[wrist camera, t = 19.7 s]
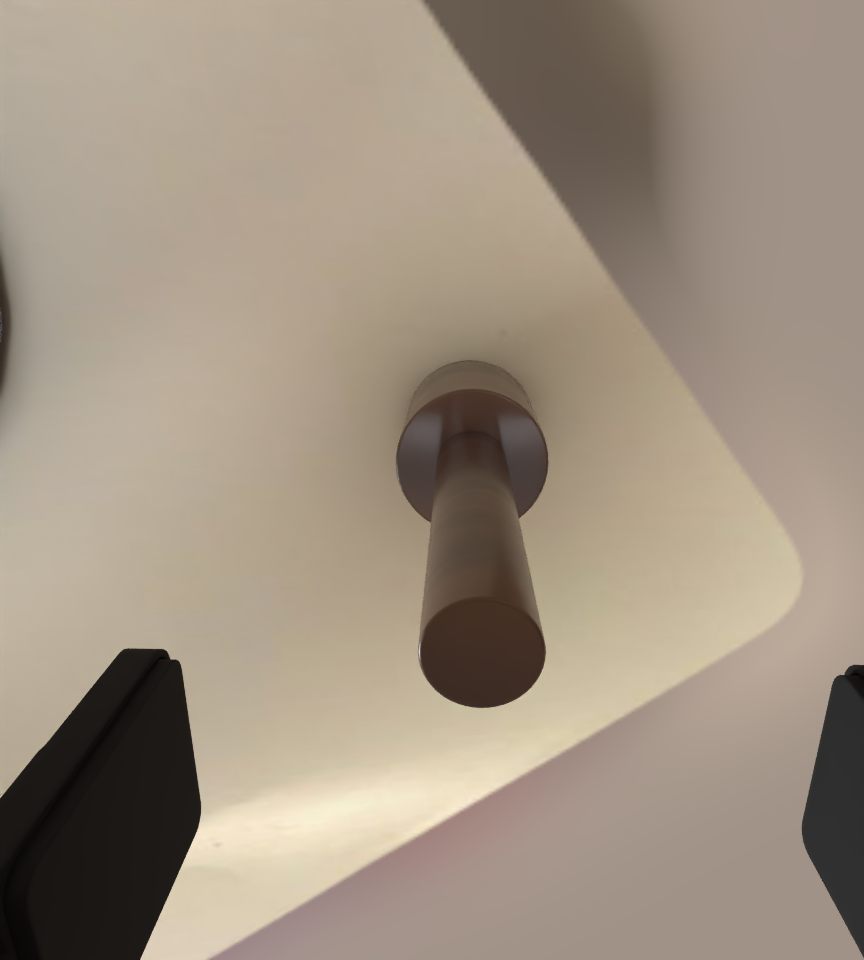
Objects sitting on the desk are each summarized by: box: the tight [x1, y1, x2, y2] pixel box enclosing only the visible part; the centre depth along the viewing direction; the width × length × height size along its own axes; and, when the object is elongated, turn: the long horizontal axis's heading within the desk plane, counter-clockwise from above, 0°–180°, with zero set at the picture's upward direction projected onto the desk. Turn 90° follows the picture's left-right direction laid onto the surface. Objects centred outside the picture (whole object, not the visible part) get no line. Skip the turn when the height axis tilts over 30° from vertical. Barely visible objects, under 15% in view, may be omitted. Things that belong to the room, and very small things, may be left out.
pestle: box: [396, 361, 548, 708], centre depth 18 cm, size 4×4×15 cm
